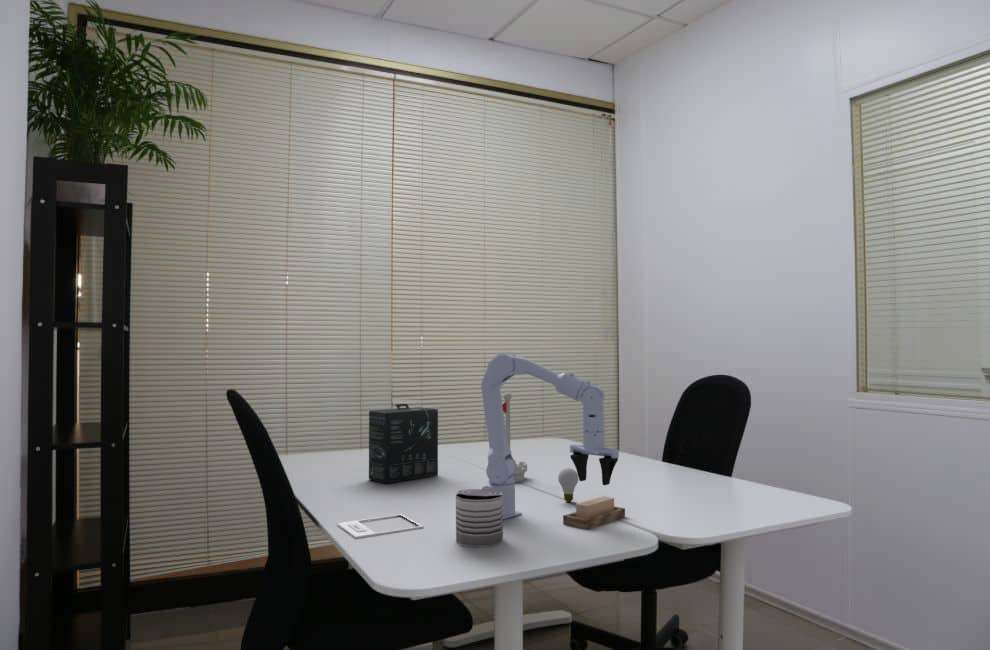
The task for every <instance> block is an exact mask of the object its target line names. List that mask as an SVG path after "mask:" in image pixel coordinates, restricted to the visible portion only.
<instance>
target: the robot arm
mask: <svg viewBox="0 0 990 650" xmlns="http://www.w3.org/2000/svg"><path fill="white" fill-rule="evenodd" d="M526 374H527V375H529V376H531V377H535V378H537V379H539V380H542V381H544V382H546V383H548V384H551V385H553V386H554V389H555V391H556V392H557V393H558V394H559V393H560V394H561V395H564V396H566V397H567V398H570V399H572V400H574V401H576V402H579V401H580V403H581V404H582V414H581V415H582V445H581V444H572V445H569V453H571V454H570V460H572V462H573V464H574V467H575V471H576V472H577V474H578V482H584V481H586V480H587V477H588V476H587V473H588V472H587V468H588V466H587V465H588V460H589V455H591V456H599V457H600V458H598V461H599V462H598V463H599V465H600V469H601V482H602V485H603V486H608V485H610V483H611V477H612V474H613V471H614V469H615V466H616V464H617V462H618V460H619V458H620V457H619V455H620V454H619V453H620V452H619V451H620V450H619V449H614V448H610V447H606V446H605V445H606V444H605V413H604V410H605V408H604V407H605V406H604V404H603V403H604V400H605V398H606V395H605V394H606V393H605V391H604V389H603V388H602V387H600V386H599V385H598V384H592V383H591V381H590V380H583V379H581V378H579V377H578V376H575V372H572V371H570V372H569V373H568V372H562V373H557V372H555V371H553V370H552V369H549V368H547V367H545V366H543V365H540V364H538V363H537V362H535V361H534V360H533V361H532V360H531V359H528V358H526V357H523V356H521V355H520V356H519V355H518V356H517V355H516V354H514V353H510V352H509V353H506V354H505V353H499V354H497V355H495V356H494V357H492V359H491V360H490V361H489V362H488V364H487V367H486V371H485V373H484V376H483V378H482V380H481V384H480V388H481V394H482V402H483V409H484V417H485V423H486V430H487V438H488V446H489V451H488V455H487V461H488V464H487V467H486V470H485V471H486V476H487V478H488V482H487V484H486V485H484V486H482V488H481V489H484V490H495V491H500V492H503V493H502V494H503V520H505V519H510V518H512V517H516V516H521V515H523V512H521V511H517V510H516V482H515V480H514V478H513V474H514V473H515V471H516V464H517V461H516V460H515V459H514V457H513V455H512V450H511V447H510V448H509V446H508V442H507V435H506V420H505V415H504V412H503V407H502V405H503V401H502V394H501V392H502V391H501V388H502V387H503V386H504V385H505V383H506V382H507V381H508V380H509V379H511V378H513V377H514V376H516V375H526ZM515 461H516V462H515Z"/></svg>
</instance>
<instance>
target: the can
mask: <svg viewBox="0 0 990 650" xmlns="http://www.w3.org/2000/svg"><path fill="white" fill-rule="evenodd" d="M454 492H455V494H456V495H455V536H456V537H455V541H456V543H457V544H458V545H459V546H462V547H468V548H475V549H476V548H478V549H479V548H491V547H494V546H498V545H500V544H502V542H503V541H504V527H503V526H504V525H503V524H504V519H503V494H502V493H503V492H500V491H495V490H484V489H482V488H481V489H480V488H467V489H457V490H456V491H454Z"/></svg>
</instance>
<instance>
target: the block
mask: <svg viewBox="0 0 990 650" xmlns="http://www.w3.org/2000/svg"><path fill="white" fill-rule="evenodd" d="M614 506H615V497H609V496H604V495H602V496H600V497H596V498H592V499H589V500H585V501H582V502H581V501H580V502H578V503H575V507H576V509H575V512H576V517H578V518H583V519H588V518H591V517H594V516H597V515H601V514H604V513H607V512H610V511H613V510H614Z"/></svg>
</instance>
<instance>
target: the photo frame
mask: <svg viewBox="0 0 990 650" xmlns="http://www.w3.org/2000/svg"><path fill="white" fill-rule="evenodd" d="M402 516H403V518H404V517H405V518H404V519H406V518H407V520H408V521H410V522H412V523H413V522H414V523H413V524H415V523H416V524H415V525H417V526H412V527H411V526H410V527H406V528H405V527H404V528H399V529H393V530H388V531H387V530H385V531H380V532H375V531H374V530H372V529H370V528H369V527H368V526H366V525H364V524H363V523H362V522H361V521H368V520H374V521H376V520H375V519H381V520H383V519H382V518H388V519H392V518H391V517H395V518H398V517H402ZM360 522H361V523H360ZM368 522H369V521H368ZM337 525H339V526H340V527H341V528H342V529H341V528H340V527H339V526H338V527H339V528H340V529H341V530H343V529H344V530H345V531H346V532H345V531H344V530H343V531H344V532H345V533H347V532H348V533H349V534H348V533H347V534H348V535H349V536H351V537H352V536H353V537H352V538H354V539H355V538H358V539H363V537H364V538H370V537H369V536H371V537H376V536H375V535H377V536H382V534H383V535H388V534H395V533H401V532H407V531H412V530H413V529H414V530H419V528H421V529H424V525H422V524H420V523H419V522H417V521H415V520H413V519H411V518H409V517H408V516H406V515H404V514H402V513H400V514H399V513H397V514H392V515H385V516H384V515H383V516H379V517H378V516H377V517H372V518H364V519H358V520H356V519H355V520H351V521H350V520H349V521H345V522H344V521H343V522H338V523H336V526H337Z"/></svg>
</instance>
